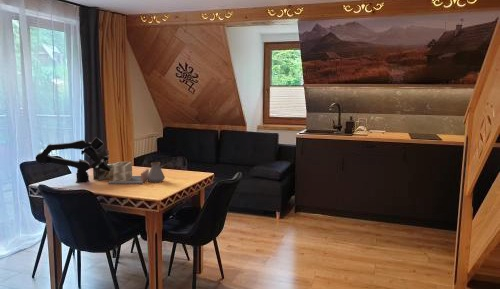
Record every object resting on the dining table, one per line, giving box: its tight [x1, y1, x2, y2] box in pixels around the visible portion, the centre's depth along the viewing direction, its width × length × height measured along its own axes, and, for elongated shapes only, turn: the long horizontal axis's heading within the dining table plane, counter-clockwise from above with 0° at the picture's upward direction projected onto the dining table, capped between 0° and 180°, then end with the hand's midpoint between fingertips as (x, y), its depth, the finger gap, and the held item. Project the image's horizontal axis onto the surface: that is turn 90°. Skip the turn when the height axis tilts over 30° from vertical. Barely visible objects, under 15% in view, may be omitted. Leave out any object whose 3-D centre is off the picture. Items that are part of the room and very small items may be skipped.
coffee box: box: [92, 163, 116, 181], centre depth 264 cm, size 9×6×16 cm
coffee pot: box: [147, 161, 172, 184], centre depth 250 cm, size 21×12×15 cm, turn 54°
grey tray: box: [108, 168, 150, 185], centre depth 254 cm, size 22×18×7 cm
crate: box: [112, 161, 133, 181], centre depth 254 cm, size 9×12×11 cm
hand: (110, 170), depth 254 cm, fingers closed
